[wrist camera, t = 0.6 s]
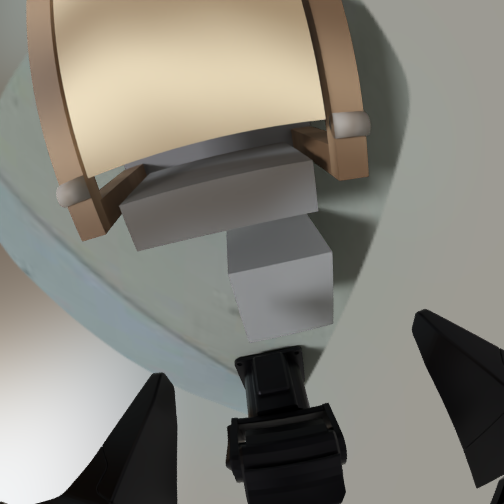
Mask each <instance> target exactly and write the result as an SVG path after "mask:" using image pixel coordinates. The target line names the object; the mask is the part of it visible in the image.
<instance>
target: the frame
mask: <svg viewBox="0 0 504 504" xmlns="http://www.w3.org/2000/svg"><path fill="white" fill-rule="evenodd" d="M301 1H302V5H303V9H304V12H305V16H306V20H307V24H308V28H309V32H310V37H311V41H312V46H313V50H314V55H315V60H316V65H317V70H318V75H319V81H320V86H321V92H322V98H323V104H324V111H325V118H326V119H325V122H326V129H327V131H325V130H321V129H318V128H315V127H311V126H308V127H301V128H294V129H291V134H292V140H293V147H294V148H295V149H297V150H298V151H300V152H301V153H303V154H304V155H306V156H307V157H309V158H310V159H312V160H313V162H314V163H316V164H317V165H318V166H320V167H321V168H323V169H324V170H325V171H327V172H328V173H330V174H331V175H332V176H334V177H335V178H336V179H338V180H339V181H342V180H348V179H355V178H361V177H368V176H369V172H368V155H367V141H366V136H368V135H369V134H370V131H371V122H370V118H369V116H368V114H367V113H366V112H365V111H363V104H362V96H361V89H360V83H359V76H358V71H357V65H356V60H355V54H354V50H353V45H352V40H351V36H350V31H349V27H348V23H347V19H346V15H345V12H344V8H343V4H342V1H341V0H301ZM27 39H28V52H29V61H30V69H31V76H32V83H33V89H34V94H35V100H36V105H37V109H38V114H39V118H40V122H41V127H42V131H43V134H44V138H45V142H46V145H47V149H48V152H49V156H50V159H51V162H52V165H53V168H54V171H55V174H56V177H57V180H58V183H59V186H58V188H57V191H56V195H57V200H58V202H59V204H60V205H61V206H62V207H64V208H66V207H68V209H69V212H70V214H71V217H72V219H73V221H74V224H75V226H76V228H77V231H78V233H79V235H80V237H81V239H82V242H83V241H86V240H89V239H92V238H96V237H99V236H102V235H106V234H107V232H108V231H109V230H110V228H111V227H112V226H113V224H114V223H115V222H116V221H117V219H118V218H119V217H120V216H121V214H122V212H121V209H120V207H119V206H120V204H121V203H122V202H123V201H124V200H125V199H126V198H127V197H128V196H129V195H130V193H131V192H132V191H133V190H134V189H135V188H136V187H137V186H138V185H139V184H140V183H141V182H142V181H143V180H144V179H145V178H146V177H147V175H146V172H145V169H144V165H143V164H140V165H137V166H134V167H131V168H128V169H126V170H124V171H123V172H121V173H120V174H119V175H118V176H116V177H115V178H114V179H112V180H111V181H110V182H109V183H107V184H106V185H105V186H104V187H102V188H101V189H100V190H99V188H98V185H97V182H96V180H95V177H94V176H93V177H90V178H88V176H87V173H86V170H85V167H84V164H83V161H82V158H81V155H80V151H79V148H78V145H77V141H76V138H75V134H74V130H73V127H72V123H71V119H70V115H69V111H68V106H67V102H66V97H65V93H64V88H63V83H62V77H61V72H60V66H59V59H58V52H57V44H56V35H55V24H54V9H53V0H27Z"/></svg>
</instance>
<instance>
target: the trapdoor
mask: <svg viewBox="0 0 504 504" xmlns="http://www.w3.org/2000/svg"><path fill="white" fill-rule="evenodd" d="M53 9H54V24H55V35H56V44H57V52H58V59H59V66H60V72H61V77H62V83H63V88H64V93H65V97H66V102H67V106H68V111H69V115H70V119H71V123H72V127H73V130H74V134H75V138H76V141H77V145H78V148H79V151H80V155H81V158H82V161H83V164H84V167H85V170H86V173H87V176H88V178H90V177H93V176H95V175H98V174H101V173H103V172H106V171H108V170H111V169H114V168H116V167H119V166H122V165H125V164H128V163H131V162H134V161H136V160H139V159H143V158H146V157H149V156H152V155H155V154H158V153H162V152H165V151H168V150H172V149H175V148H179V147H182V146H186V145H190V144H194V143H197V142H201V141H205V140H209V139H214V138H218V137H222V136H227V135H231V134H236V133H241V132H246V131H251V130H256V129H261V128H267V127H273V126H279V125H286V124H292V123H299V122H307V121H315V120H324V119H326V118H325V111H324V104H323V98H322V92H321V86H320V81H319V75H318V70H317V65H316V60H315V55H314V50H313V46H312V41H311V37H310V32H309V28H308V24H307V20H306V16H305V12H304V9H303V5H302V1H301V0H53ZM119 207H120V209H121V212H122V215H123V217H124V220H125V222H126V225H127V227H128V230H129V232H130V235H131V237H132V240H133V242H134V245H135V247H136V249H137V251H141V250H145V249H149V248H153V247H157V246H161V245H165V244H170V243H174V242H178V241H182V240H187V239H191V238H195V237H200V236H204V235H208V234H213V233H217V232H222V231H226V230H231V229H235V228H240V227H244V226H249V225H254V224H258V223H263V222H268V221H273V220H277V219H282V218H287V217H292V216H297V215H302V214H307V213H312V212H317V211H318V203H317V193H316V184H315V175H314V167H313V160H312V159H310V158H309V157H307V156H306V155H304V154H303V153H301V152H300V151H298V150H297V149H295V148H294V147H292V146H291V145H289V144H287V143H286V142H280V143H275V144H269V145H264V146H258V147H253V148H248V149H243V150H238V151H234V152H229V153H225V154H220V155H216V156H212V157H208V158H204V159H200V160H196V161H192V162H188V163H184V164H181V165H177V166H173V167H170V168H166V169H163V170H160V171H156V172H153V173H150V174H149V175H148V176H147V177H146V178H145V179H144V180H143V181H142V182H141V183H140V184H139V185H138V186H137V187H136V188H135V189H134V190H133V191H132V192H131V193H130V195H129V196H128V197H127V198H126V199H125V200H124V201H123V202H122V203H121V204H120V206H119Z"/></svg>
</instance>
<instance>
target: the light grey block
mask: <svg viewBox="0 0 504 504" xmlns="http://www.w3.org/2000/svg"><path fill="white" fill-rule="evenodd" d="M227 259H228V276H229V279H230V283H231V286H232V289H233V292H234V296H235V299H236V302H237V306H238V309H239V312H240V315H241V319H242V322H243V325H244V328H245V331H246V335H247V338H248V341H249V343H252V342H257V341H262V340H267V339H271V338H276V337H281V336H285V335H290V334H294V333H298V332H303V331H307V330H311V329H315V328H319V327H323V326H327V325H330V324H333V259H332V251H331V249H330V248H329V246H328V244H327V243H326V241H325V240H324V238H323V237H322V235H321V234H320V232H319V231H318V229H317V228H316V227H315V225H314V224H313V222H312V221H311V219H310V218H309V216H308V215H307V214H302V215H297V216H292V217H287V218H282V219H277V220H273V221H268V222H263V223H258V224H254V225H249V226H244V227H240V228H235V229H231V230H227Z"/></svg>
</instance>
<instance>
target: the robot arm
mask: <svg viewBox="0 0 504 504" xmlns="http://www.w3.org/2000/svg"><path fill="white" fill-rule="evenodd" d="M412 333H413V336H414V338H415V340H416V343H417V345H418V348H419V350H420V353H421V355H422V358H423V360H424V363H425V365H426V368H427V370H428V372H429V374H430V376H431V378H432V380H433V382H434V384H435V386H436V388H437V390H438V392H439V394H440V396H441V398H442V400H443V403H444V405H445V407H446V409H447V412H448V414H449V416H450V418H451V420H452V423H453V425H454V427H455V430H456V432H457V435H458V437H459V440H460V443H461V445H462V448H463V449H464V453H465V456H466V459H467V462H468V464H469V467H470V470H471V473H472V476H473V479H474V482H475V485H476V488H479V487H481V486H483V485H485V484H487V483H489V482H491V481H493V480H495V479H497V478H498V477H500V476H502V475H504V350H503V349H501V348H500V349H499V348H498V347H497V346H495V345H493V344H492V343H489V342H488V341H486V340H484V339H482V338H480V337H479V336H477V335H475V334H473V333H471V332H469V331H467V330H465V329H464V328H462V327H460V326H458V325H456V324H454V323H452V322H451V321H449V320H447V319H445V318H443V317H441V316H439V315H437V314H435V313H433V312H431V311H429V310H427V309H423V310H421V311H418V312H417V313H416V314H415V318H414V322H413V326H412ZM235 367H236V369H237V372H238V374H239V376H240V378H241V381H242V383H243V385H244V388H245V390H246V398H247V408H248V418H239V419H238V418H232V420H231V425H229V426H228V427H227V431H228V447H227V455H226V467H227V468H228V469H230V470H232V472H233V475H234V476H235V479H236V481H237V482H238V483H240V482H244V486H245V492H246V497H247V502H248V504H341V503H342V501H343V498H344V496H345V493H346V490H345V485H344V479H343V470H342V465H343V464H345V463H346V459H347V450H346V444H345V440H344V437H343V434H342V432H341V430H340V427H339V425H338V423H337V421H336V418H335V416H334V414H333V412H332V410H331V407H330V405H329V403H325V404H322V405H320V406H316V407H311V408H310V406H309V402H308V398H307V394H306V390H305V386H304V382H305V378H304V367H303V357H302V350H301V348H300V347H292V348H288V349H283V350H279V351H274V352H269V353H264V354H259V355H254V356H249V357H243V358H238V359H236V360H235ZM245 440H246V442H245ZM0 504H6V503H4V502H0ZM37 504H177V416H176V403H175V391H174V386H173V384H172V383H171V382H170V380H169V379H168V378H167V376H166V375H165V374H164V373H162V372H161V373H153V374H152V375H151V376H150V378H149V379H148V380H147V382H146V383H145V385H144V386H143V388H142V389H141V390H140V392H139V393H138V395H137V396H136V397H135V399H134V400H133V402H132V403H131V405H130V406H129V407H128V409H127V410H126V412H125V413H124V415H123V416H122V418H121V419H120V420H119V422H118V423H117V425H116V426H115V428H114V429H113V431H112V432H111V433H110V435H109V436H108V438H107V439H106V441H105V442H104V444H103V447H101V448H100V449H99V451H98V452H97V454H96V455H95V456H94V458H93V459H92V461H91V462H90V463H89V465H88V466H87V467H86V468H85V470H84V471H83V472H82V473H81V474H80V476H79V477H78V478H77V479H76V480H75V481H74V482H73V483H72V485H71V486H70V487H69V488H68V489H67V490H66V491H65V492H64V493H63V494H62V495H60V496H59V497H56V498H54V499H51V500H48V501H44V502H41V503H37ZM490 504H504V477H503V478H502V479H500V480H499V482H498V485H497V488H496V491H495V493H494V496H493V498H492V501H491V503H490Z"/></svg>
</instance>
